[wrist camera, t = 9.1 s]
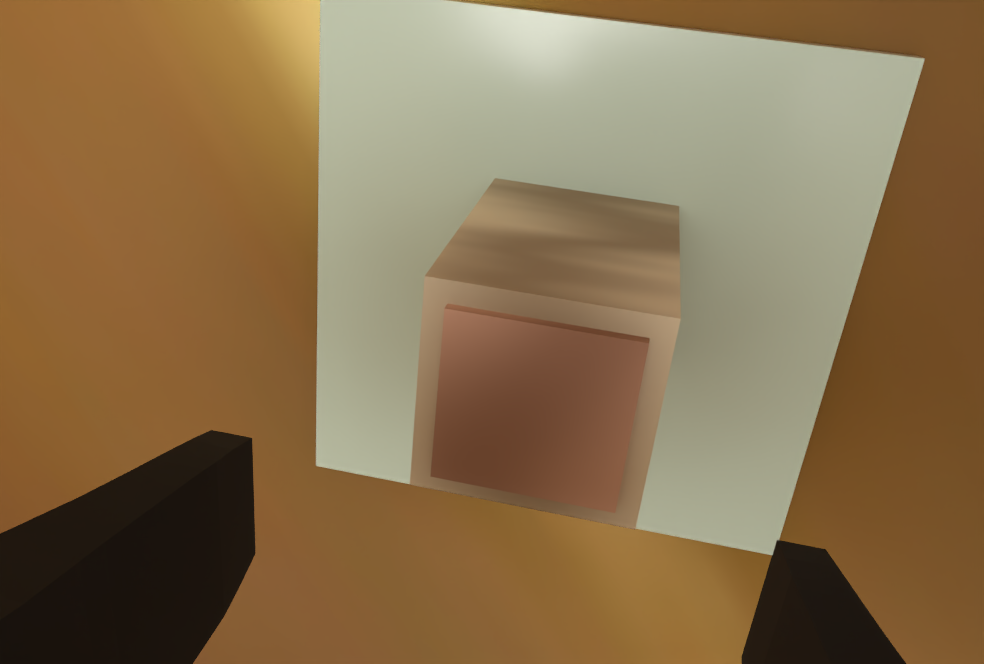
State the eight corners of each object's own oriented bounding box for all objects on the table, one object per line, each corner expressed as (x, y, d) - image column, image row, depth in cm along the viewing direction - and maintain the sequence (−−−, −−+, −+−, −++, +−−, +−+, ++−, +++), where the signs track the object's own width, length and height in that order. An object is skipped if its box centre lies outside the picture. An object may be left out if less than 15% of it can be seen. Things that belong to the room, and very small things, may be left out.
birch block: (679, 205, 18) (681, 324, 13) (645, 370, 20) (635, 537, 15) (495, 177, 19) (420, 280, 13) (478, 341, 21) (406, 490, 15)
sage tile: (919, 55, 17) (924, 58, 16) (772, 545, 22) (774, 555, 22) (327, -17, 18) (320, -15, 18) (321, 457, 24) (315, 465, 23)
